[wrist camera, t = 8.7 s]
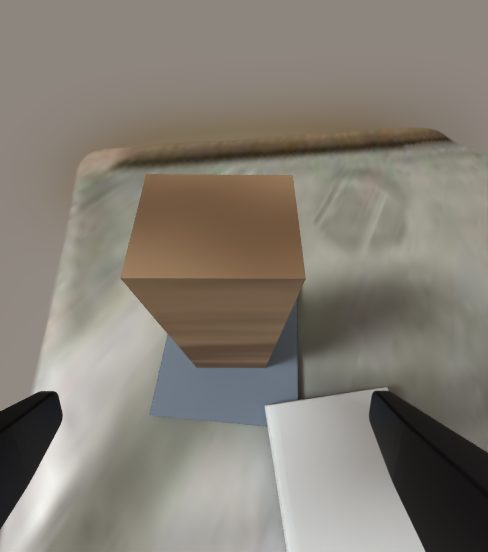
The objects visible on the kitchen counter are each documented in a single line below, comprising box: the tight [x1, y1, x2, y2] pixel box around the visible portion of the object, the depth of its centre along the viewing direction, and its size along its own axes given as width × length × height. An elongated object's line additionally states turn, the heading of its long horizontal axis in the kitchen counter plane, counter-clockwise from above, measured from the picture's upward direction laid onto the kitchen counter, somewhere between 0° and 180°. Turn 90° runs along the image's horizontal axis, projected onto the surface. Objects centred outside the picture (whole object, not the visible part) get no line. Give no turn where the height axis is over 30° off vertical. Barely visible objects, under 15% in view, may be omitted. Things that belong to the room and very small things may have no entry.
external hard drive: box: [265, 387, 425, 552], centre depth 15 cm, size 2×8×12 cm
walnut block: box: [121, 174, 306, 368], centre depth 14 cm, size 4×5×14 cm
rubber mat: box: [150, 299, 298, 427], centre depth 21 cm, size 11×10×1 cm
